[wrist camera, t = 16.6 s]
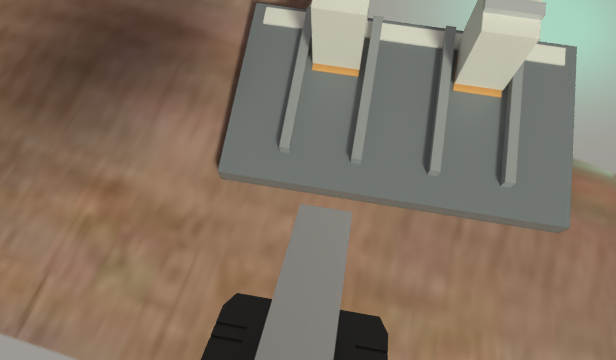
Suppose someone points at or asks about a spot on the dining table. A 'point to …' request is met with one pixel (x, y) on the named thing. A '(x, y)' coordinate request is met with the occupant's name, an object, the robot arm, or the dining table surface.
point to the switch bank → (403, 124)
